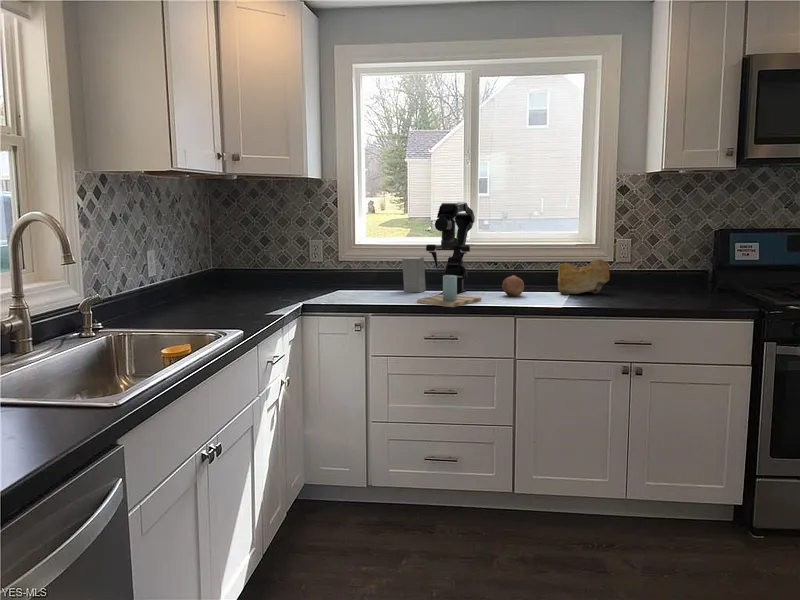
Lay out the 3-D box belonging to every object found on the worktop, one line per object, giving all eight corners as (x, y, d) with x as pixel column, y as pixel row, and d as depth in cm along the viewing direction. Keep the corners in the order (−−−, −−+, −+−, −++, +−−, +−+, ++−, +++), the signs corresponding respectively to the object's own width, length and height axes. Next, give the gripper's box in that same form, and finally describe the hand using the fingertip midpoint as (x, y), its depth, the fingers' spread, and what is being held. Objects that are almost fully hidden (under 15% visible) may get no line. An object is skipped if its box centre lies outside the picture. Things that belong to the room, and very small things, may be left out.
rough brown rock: (597, 291, 309) (596, 258, 307) (613, 293, 292) (612, 259, 291) (548, 294, 306) (547, 261, 305) (562, 296, 289) (561, 262, 288)
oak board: (446, 296, 290) (446, 293, 289) (481, 300, 278) (481, 297, 278) (417, 302, 275) (417, 299, 274) (452, 307, 263) (452, 303, 263)
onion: (512, 301, 295) (515, 280, 298) (527, 298, 287) (530, 276, 290) (496, 295, 290) (499, 273, 293) (510, 291, 283) (513, 269, 285)
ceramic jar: (452, 298, 274) (452, 274, 272) (459, 300, 269) (459, 276, 267) (440, 299, 272) (440, 275, 270) (446, 301, 267) (446, 277, 265)
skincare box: (425, 291, 306) (425, 256, 304) (417, 293, 300) (417, 258, 298) (410, 289, 311) (410, 256, 308) (402, 291, 305) (401, 257, 302)
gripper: (425, 231, 280) (424, 268, 281) (470, 231, 278) (469, 269, 279) (427, 232, 291) (426, 267, 292) (470, 232, 289) (469, 268, 290)
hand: (447, 268), depth 288 cm, fingers open, 9 cm apart
